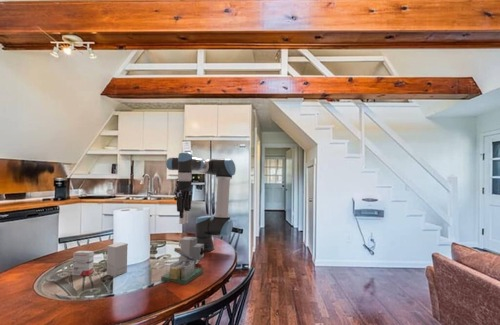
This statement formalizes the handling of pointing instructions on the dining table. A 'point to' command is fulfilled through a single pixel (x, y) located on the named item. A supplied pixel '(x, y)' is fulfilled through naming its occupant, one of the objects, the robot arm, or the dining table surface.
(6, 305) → the dining table surface
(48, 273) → the dining table surface
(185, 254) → the silver elongated bar
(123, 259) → the skincare box
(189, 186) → the robot arm
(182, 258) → the circuit breaker
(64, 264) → the dining table surface
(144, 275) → the dining table surface
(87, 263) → the ink box
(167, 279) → the circuit board
